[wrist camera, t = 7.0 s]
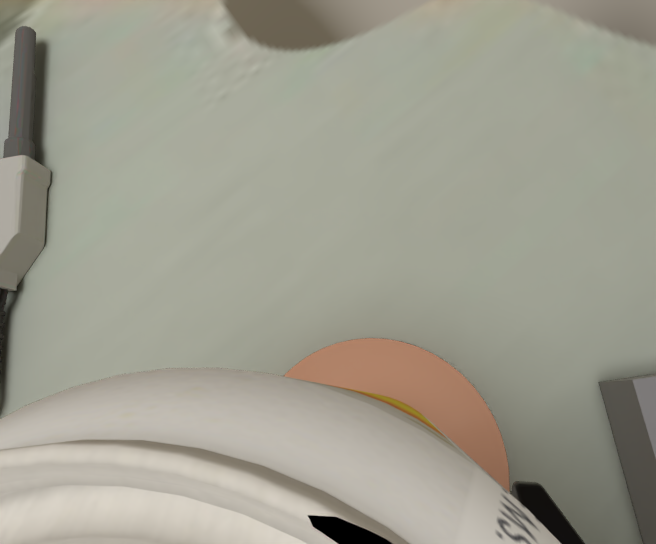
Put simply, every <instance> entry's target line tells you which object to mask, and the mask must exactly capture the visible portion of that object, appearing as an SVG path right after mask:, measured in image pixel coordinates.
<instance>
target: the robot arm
mask: <svg viewBox="0 0 656 544" xmlns="http://www.w3.org/2000/svg"><path fill="white" fill-rule="evenodd" d="M511 495H513V496H514V497H515V498H516V499H517V500H518V501H519V502H520V503H521V504H522V505H524V506H525V507H526V508H527V509H528V510H529V511H530V512H531V513H532V514H533V515H534V516H535V517H536V518H537V519H538V520H539V521H540V522H541V523H542V524H543V525H544V526H545V527H546V528H547V530H548V531H549V532H550V533H551V534H552V535H553V536H554V537H555V538H556V539H557V540H558V541H559V542H560V543H561V544H585V543H584V542H583V540H582V539H581V538H580V536H579V535H578V534H577V532H576V531H575V530H574V528H573V527H572V526H571V524H570V523H569V522H568V520H567V519H566V517H565V516H564V515H563V513H562V512H561V511H560V509H559V508H558V507H557V505H556V504H555V503H554V501H553V500H552V499H551V497H550V496H549V495H548V493H547V492H546V491H545V489H544V488H543V487H542V486H541V485H540V484H538V483H536V482H519V481H518V482H515V483H514V484H513V486H512V492H511Z"/></svg>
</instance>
